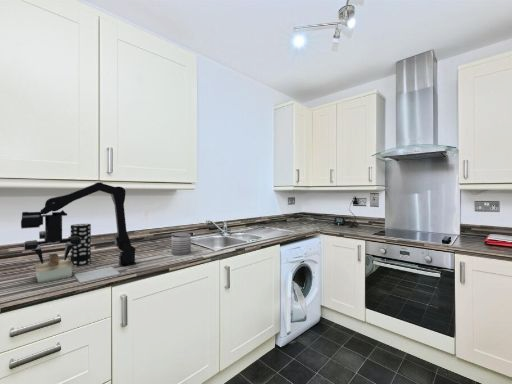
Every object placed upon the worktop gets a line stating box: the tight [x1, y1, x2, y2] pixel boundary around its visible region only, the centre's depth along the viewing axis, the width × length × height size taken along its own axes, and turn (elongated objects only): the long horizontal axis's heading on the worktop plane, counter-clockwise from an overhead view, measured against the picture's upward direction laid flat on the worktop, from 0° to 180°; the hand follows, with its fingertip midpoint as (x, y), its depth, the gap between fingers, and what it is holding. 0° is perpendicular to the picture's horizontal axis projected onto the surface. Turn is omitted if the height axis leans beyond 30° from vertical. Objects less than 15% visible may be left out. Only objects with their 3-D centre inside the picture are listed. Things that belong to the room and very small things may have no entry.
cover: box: [33, 253, 74, 274], centre depth 107 cm, size 12×12×5 cm
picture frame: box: [73, 266, 121, 284], centre depth 109 cm, size 15×13×1 cm
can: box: [170, 232, 192, 257], centre depth 147 cm, size 11×11×12 cm
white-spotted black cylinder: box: [70, 223, 92, 267], centre depth 125 cm, size 8×8×20 cm
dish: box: [35, 266, 73, 284], centre depth 107 cm, size 11×11×4 cm
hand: (53, 262), depth 107 cm, fingers open, 7 cm apart
